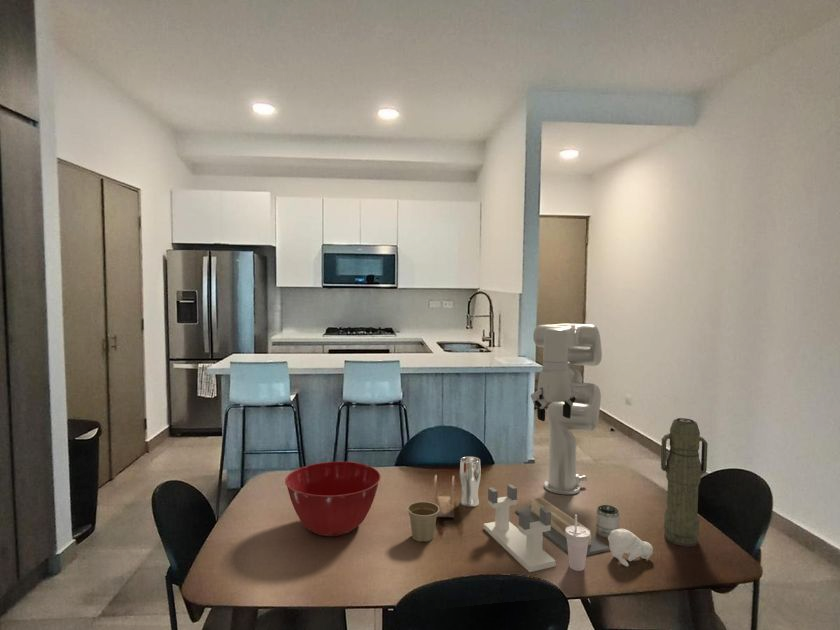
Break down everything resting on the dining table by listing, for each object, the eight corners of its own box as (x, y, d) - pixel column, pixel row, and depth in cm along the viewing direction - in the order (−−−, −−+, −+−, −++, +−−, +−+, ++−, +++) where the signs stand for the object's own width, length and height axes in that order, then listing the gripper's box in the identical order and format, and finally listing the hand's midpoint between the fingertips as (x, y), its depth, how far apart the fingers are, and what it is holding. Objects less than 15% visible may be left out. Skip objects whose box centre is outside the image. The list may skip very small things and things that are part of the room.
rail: (541, 509, 166) (542, 497, 166) (590, 544, 144) (591, 531, 143) (531, 511, 165) (531, 499, 164) (579, 547, 142) (579, 533, 142)
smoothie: (560, 560, 137) (561, 509, 136) (583, 559, 137) (585, 509, 136) (569, 574, 130) (570, 521, 129) (593, 573, 131) (595, 520, 130)
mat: (546, 506, 170) (546, 503, 170) (609, 550, 142) (610, 547, 142) (515, 511, 166) (515, 509, 166) (574, 558, 138) (574, 555, 138)
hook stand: (506, 524, 157) (507, 481, 157) (555, 566, 134) (556, 516, 133) (483, 528, 155) (484, 484, 154) (529, 572, 131) (530, 521, 130)
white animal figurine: (606, 524, 139) (646, 525, 141) (603, 555, 139) (643, 555, 141) (619, 535, 133) (661, 536, 135) (616, 567, 133) (657, 567, 135)
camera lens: (595, 536, 150) (596, 510, 150) (596, 527, 156) (597, 501, 155) (618, 540, 148) (619, 514, 147) (618, 530, 154) (619, 505, 153)
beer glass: (480, 499, 175) (480, 456, 175) (480, 508, 169) (481, 463, 168) (459, 498, 176) (460, 455, 175) (459, 507, 169) (459, 462, 168)
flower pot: (443, 532, 152) (443, 504, 152) (433, 547, 143) (433, 517, 143) (413, 527, 155) (413, 499, 155) (402, 542, 146) (402, 512, 146)
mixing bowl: (333, 498, 176) (333, 454, 175) (399, 521, 159) (399, 472, 158) (266, 530, 153) (265, 480, 152) (334, 560, 136) (334, 504, 135)
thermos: (709, 547, 144) (714, 424, 142) (666, 545, 145) (670, 424, 143) (695, 532, 153) (699, 416, 151) (654, 530, 154) (658, 415, 151)
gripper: (570, 363, 171) (569, 413, 172) (525, 366, 165) (524, 418, 166) (584, 366, 164) (583, 419, 165) (538, 369, 158) (537, 424, 159)
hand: (554, 418), depth 166 cm, fingers open, 9 cm apart
